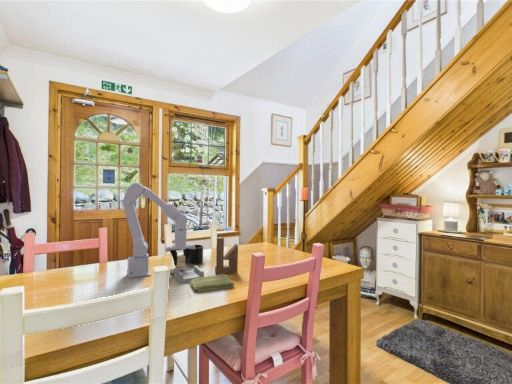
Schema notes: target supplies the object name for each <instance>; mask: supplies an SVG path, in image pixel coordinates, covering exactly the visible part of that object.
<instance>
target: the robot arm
mask: <svg viewBox="0 0 512 384" xmlns="http://www.w3.org/2000/svg"><path fill="white" fill-rule="evenodd" d="M141 196H142V198H146V199H149V200H151V201H152V202H153V203H155V204H156V205H157V206H158V207H160V208H161V213H163V214H164V215H165V216H166V217H168V218H169V219H170V220H172V221H174V224H175V225H174V227H175V228H174V245H173V246H171V245H170V246H164V251H165V252H166V253H169V252H170V254H171V257H172V259H173V260H172V261H173V265H174V267H175V266H177V255H178V252H177V251H183V252H182V253H183V255H185V256H186V258H185V265H186V264H187V263H186V261H187V258H188V256H189V254H190V252H191V250H190V249H195V245H196V244H187V223H188V218H187V216H186V214H185V213H184V212H182V210H179V208H177V207H175V206H176V205H175V204H174V203H171V202H167V203H166V201H164V200H163V199H162V198H161V197H159V196H158V195H157V194H156V193H155V192H154V191H153V190H151V189H150V188H148V187H146V186H144V185H143V184H142V183H140V182H133V183H132V184H130V186H128V188H127V189H126V191H125V194H124V198H123V199H122V205H123V206H122V207H123V209H124V214H125V217H126V221H127V224H128V227H129V230H130V235H131V239H132V247H133V248H132V256H129V257H127V269H126V273H127V276H128V278H129V279H132V278H138V277H146V276H147V277H149V276H151V273H150V271H149V265H150V264H149V263H150V262H149V259H150V257H149V256H150V254H149V253H148V249H149V243H148V242H147V241H146V240H145V237H144V234H143V232H142V228H141V224H140V220H139V217H138V214H137V209H136V207H135V203H136V201H137V200H138V199H139V197H141Z"/></svg>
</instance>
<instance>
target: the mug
mask: <svg viewBox="0 0 512 384" xmlns="http://www.w3.org/2000/svg"><path fill="white" fill-rule="evenodd" d="M194 245H195V249H190V250H191V252H190V254H189V256H188V258H187V261H186V264H188V265H200V264H202V263H203V262H204V245H201V244H194Z"/></svg>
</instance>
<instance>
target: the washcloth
mask: <svg viewBox="0 0 512 384" xmlns="http://www.w3.org/2000/svg"><path fill="white" fill-rule="evenodd" d="M189 283H190V285H191V287H192V289H193V291H197V292H198V293H205V292H212V291H219V290H224V289H229V288H230V289H231V288H233V287H234V286H235V283H234V281H233V280H231V279H230V278H229V276H228V274H220V275H217V274H216V275H214V274H213V275H208V276H204V277H200V278H195V279H192V280H191V281H190V282H189Z"/></svg>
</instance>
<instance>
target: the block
mask: <svg viewBox="0 0 512 384" xmlns="http://www.w3.org/2000/svg"><path fill="white" fill-rule="evenodd" d="M185 258H186V256H185V255H184V254H177V266H175V265H174V268H177V269H182V268H185V267H186V264H185Z"/></svg>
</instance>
